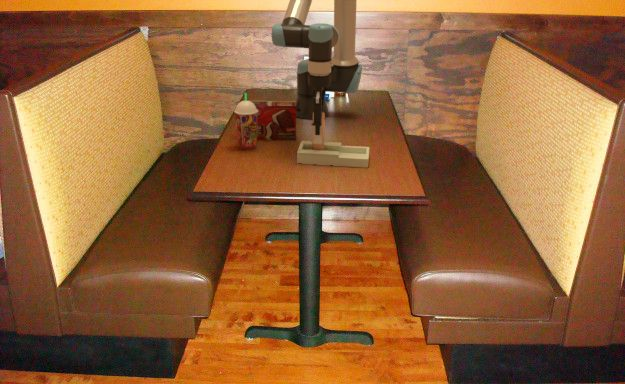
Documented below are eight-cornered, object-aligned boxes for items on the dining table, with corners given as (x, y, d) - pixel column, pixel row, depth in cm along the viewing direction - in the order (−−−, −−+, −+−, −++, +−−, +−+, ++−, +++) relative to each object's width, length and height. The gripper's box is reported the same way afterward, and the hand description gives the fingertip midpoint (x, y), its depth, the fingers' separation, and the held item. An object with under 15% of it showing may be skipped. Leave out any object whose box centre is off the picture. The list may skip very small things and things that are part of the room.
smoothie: (255, 152, 207) (253, 97, 199) (232, 150, 208) (230, 95, 200) (261, 144, 214) (260, 90, 206) (239, 142, 216) (237, 89, 207)
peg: (309, 151, 205) (310, 109, 199) (327, 152, 205) (329, 110, 198) (307, 157, 199) (308, 115, 193) (326, 158, 199) (327, 116, 193)
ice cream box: (295, 134, 225) (295, 101, 219) (295, 140, 219) (296, 106, 213) (243, 134, 224) (242, 100, 219) (242, 140, 218) (241, 105, 213)
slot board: (301, 151, 208) (301, 140, 207) (368, 155, 206) (369, 144, 205) (297, 163, 198) (297, 152, 196) (368, 167, 195) (368, 156, 194)
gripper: (329, 80, 182) (327, 150, 192) (333, 67, 197) (331, 133, 207) (305, 79, 183) (304, 149, 193) (311, 67, 198) (310, 132, 208)
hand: (318, 140), depth 200 cm, fingers closed on peg, 4 cm apart
